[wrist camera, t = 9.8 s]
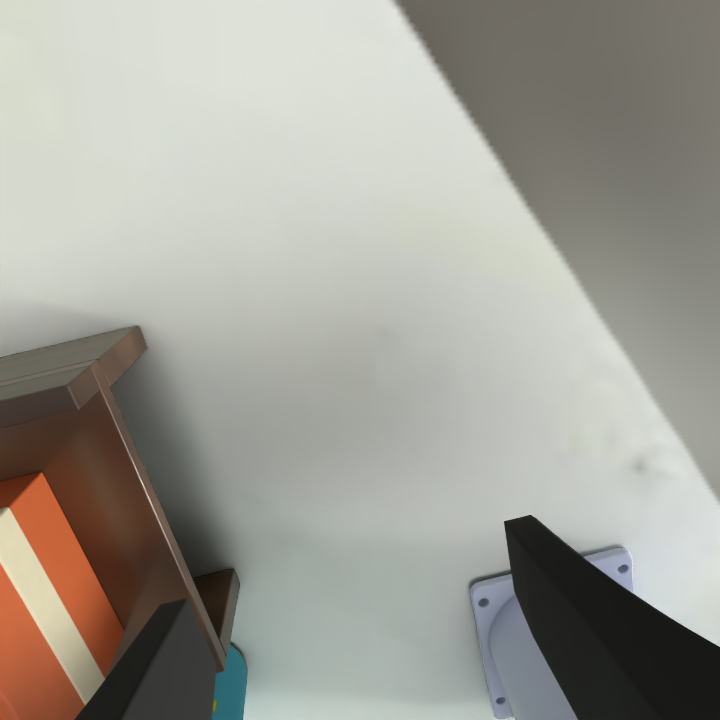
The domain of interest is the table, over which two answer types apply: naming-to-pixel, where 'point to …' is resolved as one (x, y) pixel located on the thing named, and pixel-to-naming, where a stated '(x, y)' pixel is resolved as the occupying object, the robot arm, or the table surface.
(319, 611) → the table surface
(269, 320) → the table surface
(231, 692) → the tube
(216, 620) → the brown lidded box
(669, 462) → the table surface
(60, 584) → the snack box
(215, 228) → the table surface
